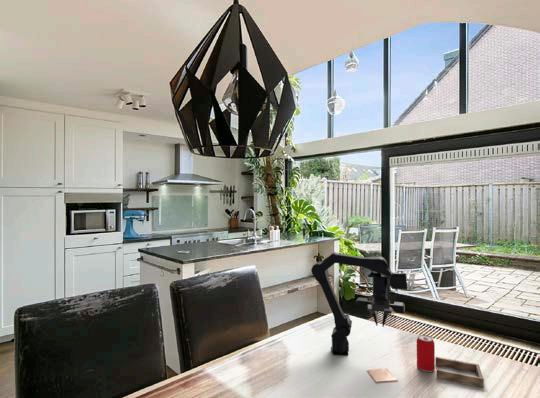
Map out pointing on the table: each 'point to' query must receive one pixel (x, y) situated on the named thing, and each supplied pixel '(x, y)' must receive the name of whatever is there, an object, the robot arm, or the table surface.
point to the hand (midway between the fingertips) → (380, 325)
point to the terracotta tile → (382, 375)
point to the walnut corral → (459, 372)
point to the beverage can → (425, 353)
